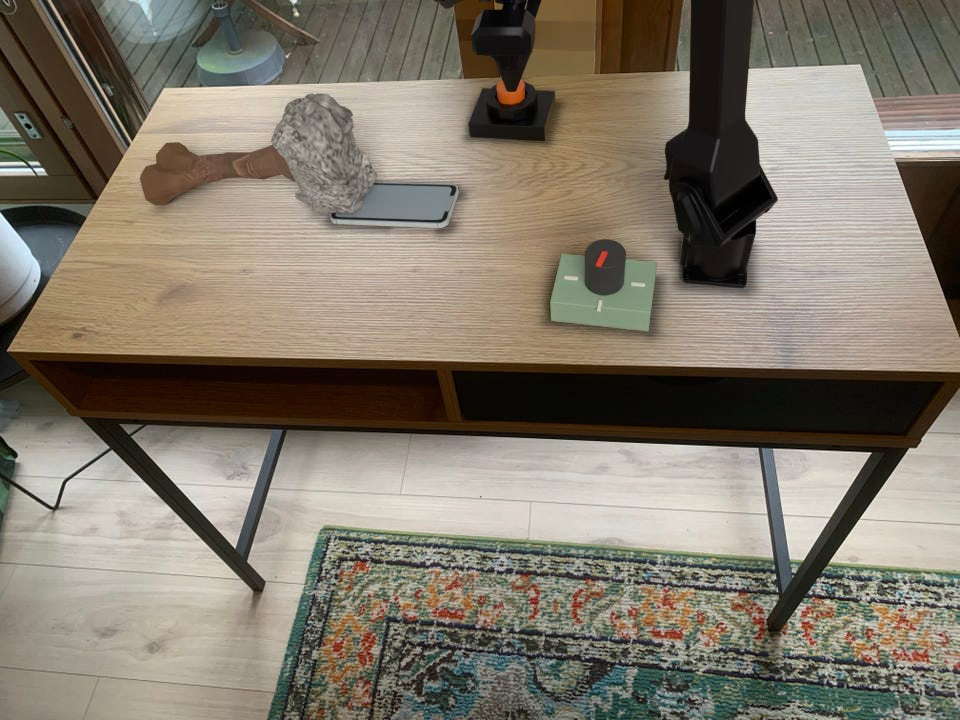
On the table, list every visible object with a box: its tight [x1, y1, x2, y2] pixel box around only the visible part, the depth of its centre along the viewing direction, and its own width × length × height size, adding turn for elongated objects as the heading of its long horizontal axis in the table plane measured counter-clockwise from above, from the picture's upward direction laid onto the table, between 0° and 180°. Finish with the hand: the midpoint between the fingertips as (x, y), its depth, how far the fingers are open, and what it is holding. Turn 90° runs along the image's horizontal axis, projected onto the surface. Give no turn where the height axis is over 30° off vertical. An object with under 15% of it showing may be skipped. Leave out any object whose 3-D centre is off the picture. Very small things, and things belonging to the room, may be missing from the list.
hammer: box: [139, 92, 378, 215], centre depth 90 cm, size 15×10×30 cm
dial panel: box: [549, 253, 658, 332], centre depth 77 cm, size 10×8×3 cm
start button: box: [496, 79, 525, 104], centre depth 96 cm, size 4×4×2 cm
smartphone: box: [329, 181, 460, 229], centre depth 91 cm, size 7×1×15 cm
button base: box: [468, 80, 556, 142], centre depth 98 cm, size 10×8×4 cm
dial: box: [584, 238, 627, 295], centre depth 74 cm, size 4×4×4 cm
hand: (516, 68), depth 87 cm, fingers open, 9 cm apart
